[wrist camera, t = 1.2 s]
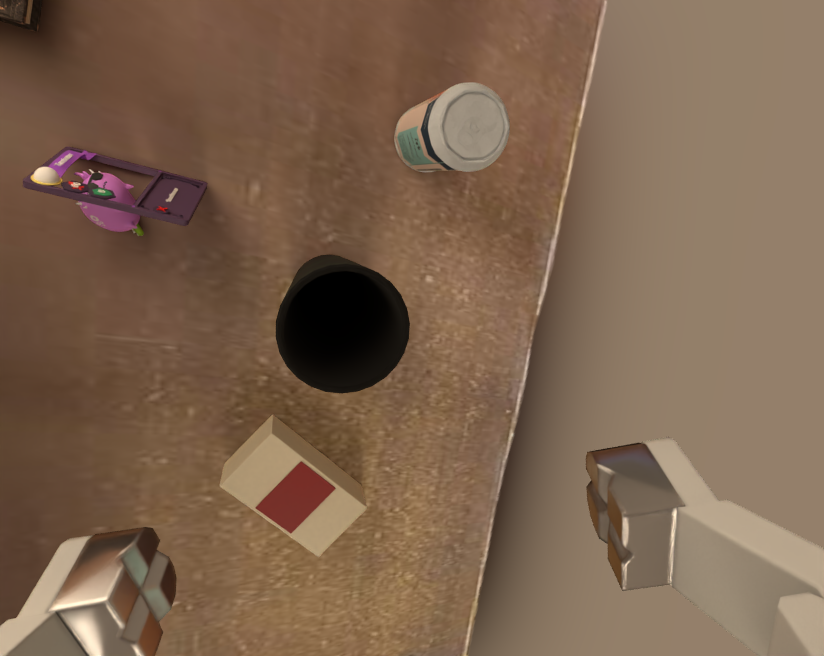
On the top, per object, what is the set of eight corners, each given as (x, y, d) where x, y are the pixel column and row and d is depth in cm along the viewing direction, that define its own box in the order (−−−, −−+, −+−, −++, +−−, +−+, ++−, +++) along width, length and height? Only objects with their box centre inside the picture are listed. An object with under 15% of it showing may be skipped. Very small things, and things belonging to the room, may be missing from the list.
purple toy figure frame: (189, 209, 35) (20, 168, 32) (179, 283, 37) (23, 250, 35) (209, 172, 40) (67, 134, 38) (199, 239, 43) (65, 207, 40)
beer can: (467, 132, 44) (532, 117, 32) (431, 185, 44) (482, 189, 33) (417, 91, 42) (466, 60, 31) (380, 146, 42) (415, 136, 31)
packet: (361, 484, 49) (367, 508, 46) (316, 531, 49) (318, 558, 46) (272, 413, 46) (271, 433, 42) (224, 463, 46) (219, 487, 43)
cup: (393, 312, 46) (429, 358, 35) (306, 355, 45) (313, 415, 34) (352, 223, 43) (376, 241, 32) (259, 267, 43) (250, 301, 31)
